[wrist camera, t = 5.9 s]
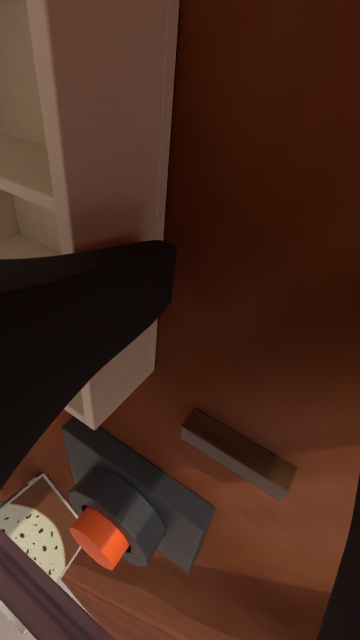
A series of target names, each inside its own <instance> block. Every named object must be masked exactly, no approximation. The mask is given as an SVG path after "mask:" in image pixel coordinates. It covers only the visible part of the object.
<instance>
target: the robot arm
mask: <svg viewBox="0 0 360 640" xmlns="http://www.w3.org/2000/svg"><path fill="white" fill-rule="evenodd" d="M176 249H177V246H175V245H172V244H170V243H167V242H165V241H162V240H150V241H142V242H136V243H130V244H125V245H119V246H114V247H108V248H103V249H97V250H91V251H84V252H78V253H71V254H64V255H57V256H48V257H37V258H23V259H0V490H1V488H2V487H3V485H4V484H5V483H6V481H7V480H8V479H9V477H10V476H11V474H12V473H13V472H14V470H15V469H16V468H17V466H18V465H19V464H20V462H21V461H22V460H23V458H24V457H25V456H26V454H27V453H28V452H29V450H30V449H31V448H32V447H33V446H34V444H35V443H36V442H37V441H38V439H39V438H40V437H41V436H42V434H43V433H44V432H45V431H46V429H47V428H48V427H49V426H50V424H51V423H52V422H53V421H54V420H55V419H56V417H57V416H58V415H59V414H60V413H61V412H62V411H63V409H64V408H65V407H66V406H67V405H68V404H69V402H70V401H71V400H72V399H73V398H74V397H75V396H76V395H77V394H78V392H79V391H80V390H81V389H82V388H83V387H84V386H85V385H86V384H87V383H88V382H89V381H90V380H91V378H92V377H93V376H94V375H95V374H96V373H98V372H99V371H100V370H101V369H102V368H103V367H104V366H105V365H106V364H107V363H108V362H110V361H111V360H112V359H113V358H114V357H115V356H117V355H118V354H119V353H120V352H121V351H122V350H124V349H125V348H126V347H127V346H128V345H129V344H130V343H132V342H133V341H134V340H135V339H136V338H137V337H138V336H140V335H141V334H142V333H143V332H144V331H145V330H146V329H148V328H149V327H150V326H151V325H152V324H153V323H154V322H155V321H156V320H157V318H158V317H159V316H160V315H161V314H162V313H163V311H164V310H165V309H166V308H167V307H168V305H169V304H170V303H171V301H172V291H173V281H174V270H175V260H176ZM0 600H1V601H2V602H3V603H4V605H5V606H6V607H7V608H8V609H9V610H10V611H11V612H12V613H13V614H14V615H15V617H16V618H17V619H18V620H19V621H20V622H21V623H22V624H23V625H24V626H25V627H26V628H27V630H28V631H29V632H30V633H31V634H32V635H33V636H34V637H35V638H36V639H37V640H115V639H114V638H113V637H112V636H111V635H109V634H108V633H107V632H106V631H105V630H104V629H103V628H102V627H101V626H100V625H99V624H98V623H97V622H96V621H95V620H94V619H93V618H92V617H91V616H90V615H89V614H88V613H87V612H86V611H85V610H84V609H83V608H82V607H81V606H79V604H78V603H76V601H74V600H73V599H72V598H71V597H70V596H69V595H68V594H67V593H66V592H65V591H64V590H63V589H62V588H61V587H60V586H59V585H58V584H57V583H56V582H55V581H54V580H53V579H52V578H51V577H50V576H49V575H48V574H47V573H46V572H45V571H44V570H43V569H42V568H41V567H40V566H38V565H37V564H36V563H35V562H34V561H33V560H32V559H31V558H30V557H29V556H28V555H27V554H26V553H25V552H24V551H23V550H22V549H21V548H20V547H19V546H18V545H17V544H16V543H15V542H14V541H13V540H12V539H11V538H10V537H9V536H8V535H7V534H6V533H5V532H3V531H2V530H1V529H0ZM317 640H360V475H359V481H358V487H357V493H356V499H355V505H354V511H353V517H352V522H351V526H350V531H349V535H348V539H347V542H346V546H345V549H344V553H343V556H342V560H341V563H340V566H339V570H338V573H337V577H336V580H335V583H334V586H333V590H332V593H331V596H330V599H329V603H328V606H327V609H326V612H325V615H324V619H323V622H322V625H321V628H320V631H319V634H318V637H317Z"/></svg>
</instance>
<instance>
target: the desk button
mask: <svg viewBox="0 0 360 640" xmlns="http://www.w3.org/2000/svg"><path fill="white" fill-rule="evenodd" d="M70 532H71V534H72V536H73V537H74V539H75V540H76V542H77V543H78V544H79V545H80V546H81V547H82V548H83V550H84V551H85V552H86V553H87V554H88V555H89V556H91V557H92V558H93V559H94V560H95V561H96V562H98V563H99V564H100V565H102V566H103V567H105V568H106V569H108V570H113V569H114V567H115V566H116V565H117V563H118V562H119V560H120V559H121V557H122V556H123V554H124V553H125V551H126V550H127V548H128V547H129V543H128V541H127V540H126V538H125V537H124V535H123V534H122V533H121V532H120V531H119V530H118V529H117V528H116V527H115V526H114V524H113V523H112V522H111V521H109V520H108V519H107V518H106V517H105V516H103V515H102V514H101V513H100V512H98V511H97V510H95V509H93V508H91V507H89V506H88V507H87V508H86V509H85V510H84V511H83V513H82V514H81V515H80V516H79V517H78V519H77V520H76V521H75V522H74V523H73V525H72V526H71V527H70Z"/></svg>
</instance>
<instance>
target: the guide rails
mask: <svg viewBox="0 0 360 640" xmlns="http://www.w3.org/2000/svg"><path fill="white" fill-rule="evenodd" d="M180 439H182V440H184V441H185V442H187V443H188V444H190V445H192V446H193V447H195V448H196V449H198V450H199V451H201V452H203V453H204V454H206V455H207V456H209V457H210V458H212V459H214V460H215V461H217V462H218V463H220V464H222V465H223V466H225V467H226V468H228V469H229V470H231V471H233V472H234V473H236V474H237V475H239V476H240V477H242V478H244V479H245V480H247V481H248V482H250V483H251V484H253V485H255V486H256V487H258V488H259V489H261V490H263V491H264V492H266V493H267V494H269V495H270V496H272V497H274V498H275V499H277V500H278V501H280V502H282V501H283V500H284V498H285V497H286V495H287V494H288V492H289V490H290V487H291V485H292V482H293V479H294V477H295V474H296V472H297V468H296V467H294V466H292V465H291V464H289V463H287V462H285V461H284V460H282V459H280V458H279V457H277V456H275V455H274V454H272V453H270V452H268V451H267V450H265V449H263V448H262V447H260V446H258V445H256V444H255V443H253V442H251V441H250V440H248V439H246V438H244V437H243V436H241V435H239V434H238V433H236V432H234V431H232V430H231V429H229V428H227V427H226V426H224V425H222V424H221V423H219V422H217V421H215V420H214V419H212V418H210V417H209V416H207V415H205V414H203V413H202V412H200V411H198V410H197V409H194V410H193V411H192V412H191V413H190V415H189V416H188V417H187V419H186V420H185V421H184V423H183V424H182V425H181V431H180Z"/></svg>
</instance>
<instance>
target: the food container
mask: <svg viewBox="0 0 360 640" xmlns="http://www.w3.org/2000/svg"><path fill="white" fill-rule="evenodd" d="M77 519H78V515H77V514H76V513H75V512H74V510H73V509H72V508H71V507H70V505H69V504H68V503H67V502H66V500H65V499H64V498H63V497H62V495H61V494H60V493H59V492H58V490H57V489H56V488H55V487H54V485H53V484H52V483H51V482H50V480H49V479H48V478H47V477H46V475H45V474H44V473H39V474H38V475H36V476H35V477H34V478H33V479H32V480H30V481H29V482H28V483H27V484H25V485H24V486H23V487H22V488H21V489H19V490H18V491H17V492H16V493H14V494H13V495H12V496H11V497H10V498H8V499H7V500H6V501H5V502H4V503H2V504H1V505H0V529H1V530H2V531H3V532H5V533H6V534H7V535H8V536H9V537H10V538H11V539H12V540H13V541H14V542H15V543H16V544H17V545H18V546H19V547H20V548H21V549H22V550H23V551H24V552H25V553H26V554H27V555H28V556H29V557H30V558H31V559H32V560H33V561H34V562H35V563H36V564H37V565H38V566H40V567H41V568H42V569H43V570H44V571H45V572H46V573H47V574H48V575H49V576H50V577H51V578H52V579H53V580H54V581H55V582H56V583H57V584H58V582H59V581H60V579H61V578H62V576H63V575H64V573H65V572H66V570H67V569H68V567H69V566H70V564H71V563H72V561H73V560H74V558H75V557H76V555H77V554H78V552H79V551H80V549H81V548H82V547H81V546H80V545H79V544H78V543H77V542H76V540H75V539H74V537H73V536H72V534H71V532H70V527H71V526H72V525H73V523H74V522H75V521H76V520H77ZM0 610H1V611H2V612H3V614H4V615H5V616H6V617H7V618H8V619H9V620H10V621H11V622H12V624H13V625H14V626H15V627H16V628H17V629H18V630H19V631H20V633H21V634H22V635H23V634H24V633H25V632H26V630H27V628H26V627H25V626H24V625H23V624H22V623H21V622H20V621H19V620H18V619H17V618H16V617H15V615H14V614H13V613H12V612H11V611H10V610H9V609H8V608H7V607H6V606H5V605H4V603H3V602H2V601H1V600H0Z"/></svg>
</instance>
